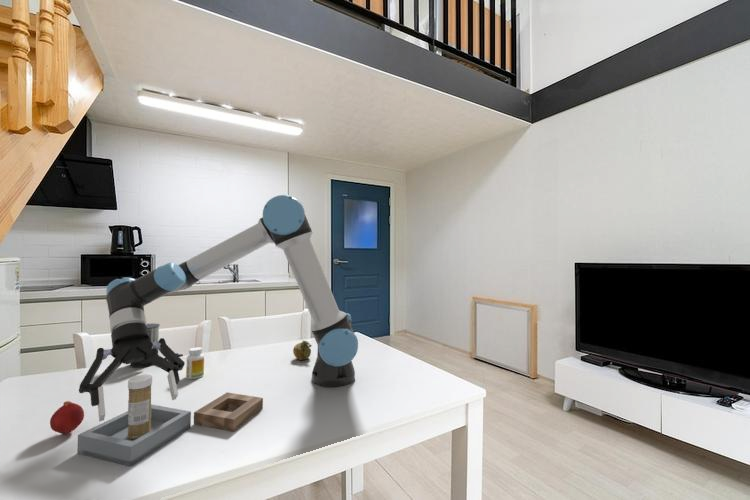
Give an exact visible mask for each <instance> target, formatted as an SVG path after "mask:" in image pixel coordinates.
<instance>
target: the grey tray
mask: <svg viewBox="0 0 750 500" xmlns="http://www.w3.org/2000/svg"><path fill="white" fill-rule="evenodd" d="M191 418H192V412H191V411H190V410H185V409H179V408H173V407H167V406H162V405H161V406H160V405H157V404H156V405H155V404H152V403H151V431H150V432H148V433H147V434H145V435H143V436H141V437H140V438H138V439H129V438H128V437H127V435H128V410H127V411H125V412H123V413H121V414H118V415H116V416H115V417H112V418H111V419H107V420H105V421H104V422H102V423H99V424H97V425H95V426H93V427H92V428H89V429H86V430H85V431H83V432H81V433H79V434H78V435H77V448H76V449H77V451H76V452H77V454H79V455H83V456H87V457H90V458H95V459H98V460H103V461H107V462H110V463H111V462H112V463H116V464H119V465H124V466H128V467H132V466H134V465H135V464H136V463H138V462H140V461H141V460H143V459H145V458H146V457H147V456H149V455H150V454H152V453H153V452H155V451H156V450H158V449H160V448H161V447H163V446H165V445H166V444H168V443H169V442H170V441H172V440H174V439H175V438H176V437H178V436H180V435H182V434H183V433H184V432H186V431H188V430H190V428H191V424H192V422H191Z"/></svg>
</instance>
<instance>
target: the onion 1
mask: <svg viewBox="0 0 750 500" xmlns="http://www.w3.org/2000/svg"><path fill="white" fill-rule="evenodd" d="M84 418H85V410H84V409H83V407H82V406H81V405H79V404H77V403H74V402H72V401H70V400H66V401H64V402H63V405H62V406H60V407H59V408H58V409H57V410H56V411H55V412H54V413H53V414H52V416H51V417H50V420H49V424H50V429H51V430H52V431H53V432H55V433H59V434H62V435H64V436H65V435H66V436H67V435H69V434H71V433H72V432H73V431H75V430H76V429H77V428H78V427H79V426H80V425H81V423H83V421H84Z"/></svg>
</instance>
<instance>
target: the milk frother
mask: <svg viewBox="0 0 750 500" xmlns="http://www.w3.org/2000/svg"><path fill="white" fill-rule="evenodd" d="M146 326H147V328H148V334H149V339H150V341H151V342H156V341H159V339H160V337H159V335H160V333H159V332H160V330H159V329H160V326H161V324H159V323H154V322H153V323H147V325H146ZM151 350H153V351H154V352H155V353H156V354H157V355H159V350H157V349H156V348H154V347H152V349H151ZM175 354H176V355H177V356H179V357H180V358H181V357H183V356H184V354H182V353H180V354H179V353H176V352H175ZM163 358H164V359H166V360H168V359H167V358H166V357H165V356H164V357H163ZM168 361H169V360H168ZM150 366H155V365H154V364H152V363H151V362H147V361H145V360H142V361H141V362H133V363H130V364H129V367H131V368H146V367H150Z"/></svg>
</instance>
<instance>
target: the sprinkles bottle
mask: <svg viewBox="0 0 750 500" xmlns="http://www.w3.org/2000/svg"><path fill="white" fill-rule="evenodd" d="M152 384H153V376H152V374H145V373H144V374H139V375H134V376H132V377H130V378H129V379H128V380H127V389H128V401H127V402H128V406H127V411H128V435H127V437H128V438H129V439H138V438H140V437H141V436H143V435H145V434H147V433H148V432H150V431H151V404H152Z"/></svg>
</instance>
